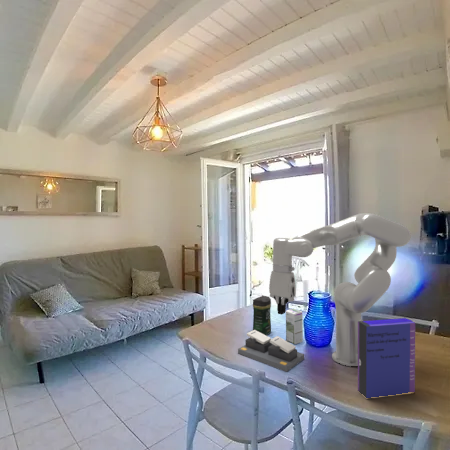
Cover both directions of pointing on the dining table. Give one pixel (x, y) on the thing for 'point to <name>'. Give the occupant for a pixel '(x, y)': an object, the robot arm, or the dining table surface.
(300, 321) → the syrup box
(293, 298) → the robot arm
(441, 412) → the dining table surface
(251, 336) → the outer rocker
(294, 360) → the switch panel
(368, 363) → the blue upright rectangular block
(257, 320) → the coffee jar
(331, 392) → the dining table surface
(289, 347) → the inner rocker
